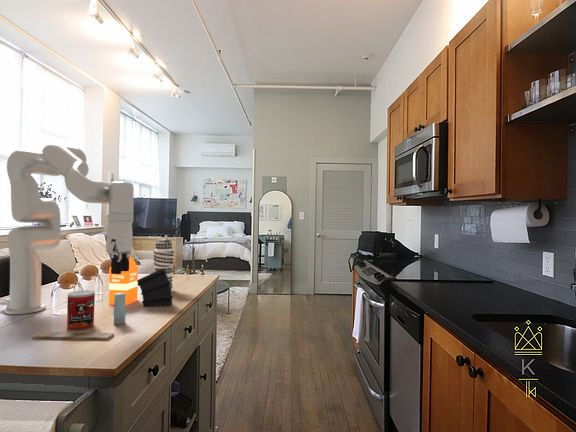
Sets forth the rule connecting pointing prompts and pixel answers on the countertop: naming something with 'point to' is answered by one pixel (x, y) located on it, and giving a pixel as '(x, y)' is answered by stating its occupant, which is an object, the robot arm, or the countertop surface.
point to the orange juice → (124, 283)
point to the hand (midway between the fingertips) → (120, 271)
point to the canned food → (80, 309)
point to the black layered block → (156, 289)
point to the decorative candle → (164, 257)
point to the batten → (73, 336)
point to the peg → (119, 308)
